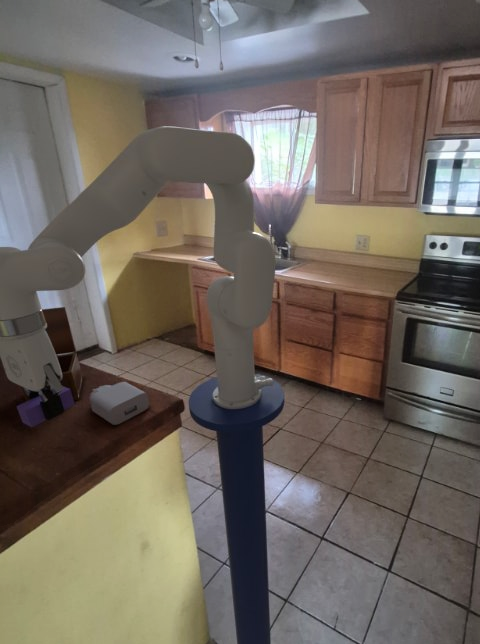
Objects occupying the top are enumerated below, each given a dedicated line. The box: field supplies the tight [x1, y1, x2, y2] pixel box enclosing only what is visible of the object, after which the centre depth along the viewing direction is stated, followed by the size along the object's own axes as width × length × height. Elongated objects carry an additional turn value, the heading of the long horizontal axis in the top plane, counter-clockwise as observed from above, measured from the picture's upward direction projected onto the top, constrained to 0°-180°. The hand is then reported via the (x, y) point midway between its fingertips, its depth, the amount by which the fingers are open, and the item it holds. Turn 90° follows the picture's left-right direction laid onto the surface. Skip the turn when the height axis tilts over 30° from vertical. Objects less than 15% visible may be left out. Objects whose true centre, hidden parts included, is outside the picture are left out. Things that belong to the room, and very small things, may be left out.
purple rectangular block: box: [16, 386, 75, 428], centre depth 69 cm, size 8×3×4 cm, turn 151°
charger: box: [89, 381, 150, 426], centre depth 89 cm, size 5×9×15 cm
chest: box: [20, 352, 84, 402], centre depth 94 cm, size 12×11×8 cm
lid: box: [42, 306, 77, 356], centre depth 96 cm, size 12×11×5 cm
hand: (49, 412), depth 70 cm, fingers closed on purple rectangular block, 3 cm apart
